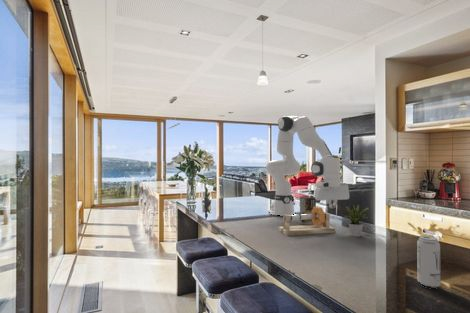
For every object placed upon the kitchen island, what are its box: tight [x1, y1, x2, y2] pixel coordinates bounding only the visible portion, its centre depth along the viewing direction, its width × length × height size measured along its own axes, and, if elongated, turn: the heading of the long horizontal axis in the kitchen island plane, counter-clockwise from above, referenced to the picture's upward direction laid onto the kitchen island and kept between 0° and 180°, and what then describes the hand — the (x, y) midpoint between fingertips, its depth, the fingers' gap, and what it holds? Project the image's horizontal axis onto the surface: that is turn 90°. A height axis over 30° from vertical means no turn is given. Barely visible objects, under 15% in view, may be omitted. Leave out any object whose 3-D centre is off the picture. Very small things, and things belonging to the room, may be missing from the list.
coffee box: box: [299, 196, 317, 225], centre depth 175 cm, size 9×6×16 cm
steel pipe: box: [284, 213, 326, 222], centre depth 156 cm, size 3×26×3 cm, turn 104°
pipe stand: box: [278, 212, 336, 237], centre depth 156 cm, size 12×28×10 cm, turn 104°
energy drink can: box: [416, 235, 441, 288], centre depth 90 cm, size 6×6×15 cm
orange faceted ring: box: [311, 206, 325, 226], centre depth 158 cm, size 10×2×10 cm, turn 14°
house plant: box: [345, 203, 369, 238], centre depth 147 cm, size 14×14×16 cm
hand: (332, 207), depth 160 cm, fingers closed
